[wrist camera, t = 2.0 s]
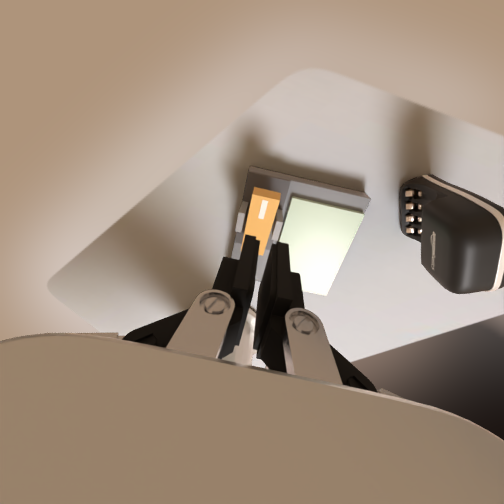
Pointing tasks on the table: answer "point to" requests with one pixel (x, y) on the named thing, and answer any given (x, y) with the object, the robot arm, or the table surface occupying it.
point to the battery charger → (455, 234)
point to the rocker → (261, 215)
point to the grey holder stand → (306, 225)
